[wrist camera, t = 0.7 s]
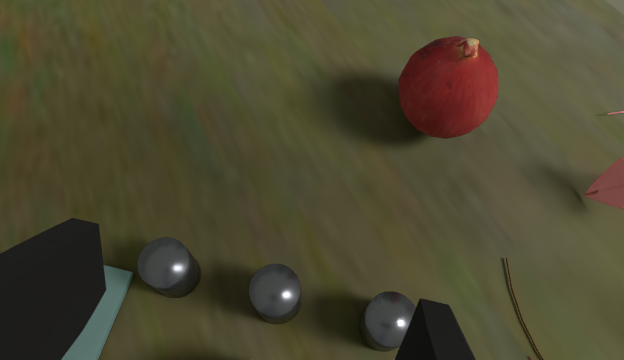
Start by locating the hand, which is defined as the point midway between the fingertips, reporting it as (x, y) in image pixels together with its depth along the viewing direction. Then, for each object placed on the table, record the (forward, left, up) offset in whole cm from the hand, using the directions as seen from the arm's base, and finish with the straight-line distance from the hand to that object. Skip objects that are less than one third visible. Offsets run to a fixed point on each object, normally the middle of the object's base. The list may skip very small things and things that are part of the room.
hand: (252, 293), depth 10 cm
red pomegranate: (+17, -6, -16) cm, 24 cm away
